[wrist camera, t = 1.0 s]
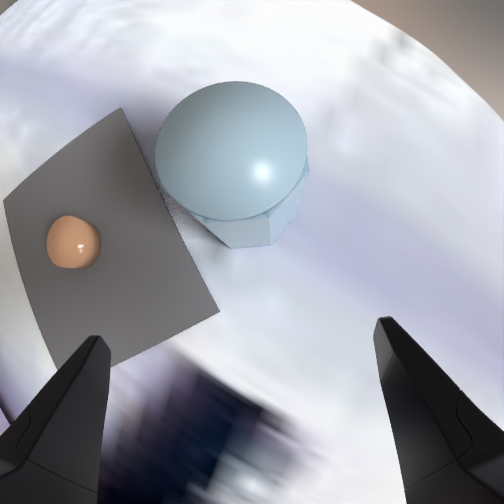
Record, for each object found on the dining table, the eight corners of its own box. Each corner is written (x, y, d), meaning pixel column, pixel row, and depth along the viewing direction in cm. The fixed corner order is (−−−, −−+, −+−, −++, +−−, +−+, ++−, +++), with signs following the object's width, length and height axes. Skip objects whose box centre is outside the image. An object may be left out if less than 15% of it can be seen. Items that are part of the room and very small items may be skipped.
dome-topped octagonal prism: (299, 242, 23) (317, 210, 13) (203, 251, 23) (155, 226, 14) (288, 153, 24) (295, 75, 14) (199, 162, 24) (157, 93, 14)
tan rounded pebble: (86, 278, 24) (69, 277, 21) (57, 253, 24) (39, 250, 21) (109, 236, 24) (93, 231, 21) (78, 213, 24) (61, 206, 22)
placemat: (220, 311, 23) (219, 311, 22) (68, 387, 23) (66, 388, 23) (122, 109, 25) (120, 107, 25) (5, 201, 26) (3, 200, 25)
